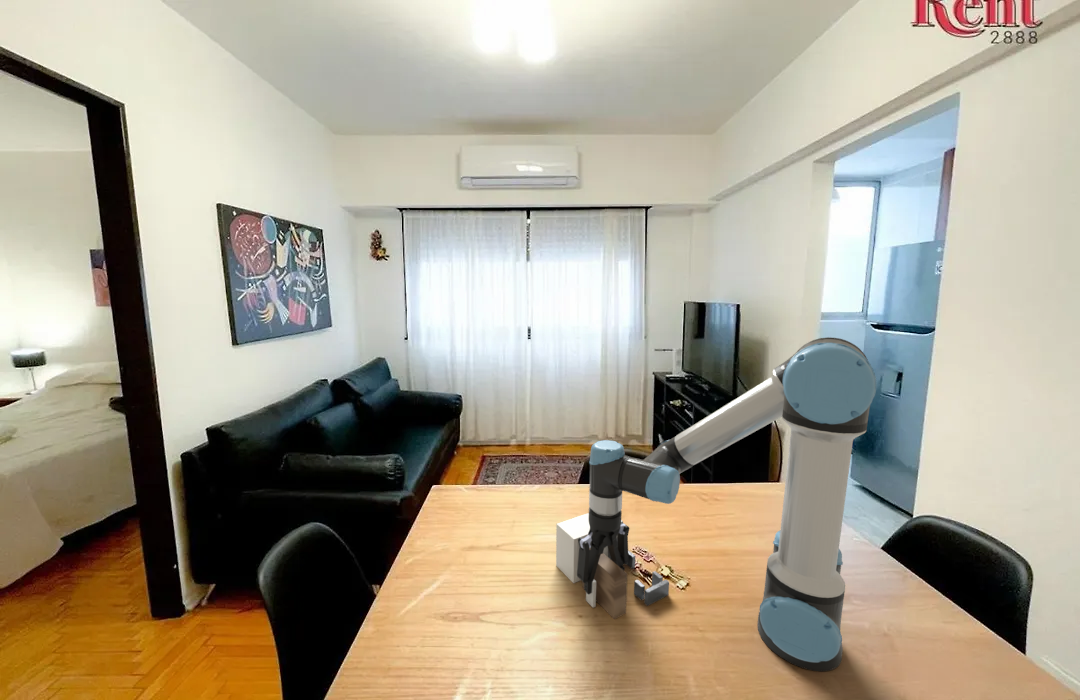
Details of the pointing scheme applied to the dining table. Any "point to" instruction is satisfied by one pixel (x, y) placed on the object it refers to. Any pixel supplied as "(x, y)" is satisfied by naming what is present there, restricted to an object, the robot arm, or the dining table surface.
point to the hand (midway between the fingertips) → (602, 597)
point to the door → (610, 587)
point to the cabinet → (571, 544)
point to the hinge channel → (652, 593)
